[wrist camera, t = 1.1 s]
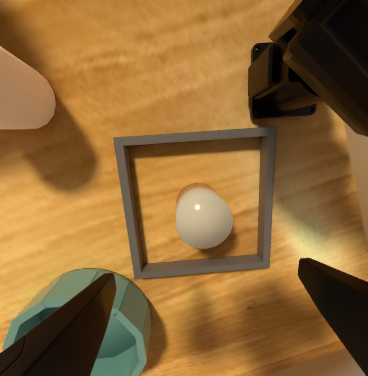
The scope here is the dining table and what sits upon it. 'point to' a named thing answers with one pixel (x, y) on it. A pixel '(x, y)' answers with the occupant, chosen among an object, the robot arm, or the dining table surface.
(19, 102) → the white cup
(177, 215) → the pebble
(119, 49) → the dining table surface
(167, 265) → the gray square frame
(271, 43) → the robot arm
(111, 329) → the bowl
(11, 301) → the dining table surface
